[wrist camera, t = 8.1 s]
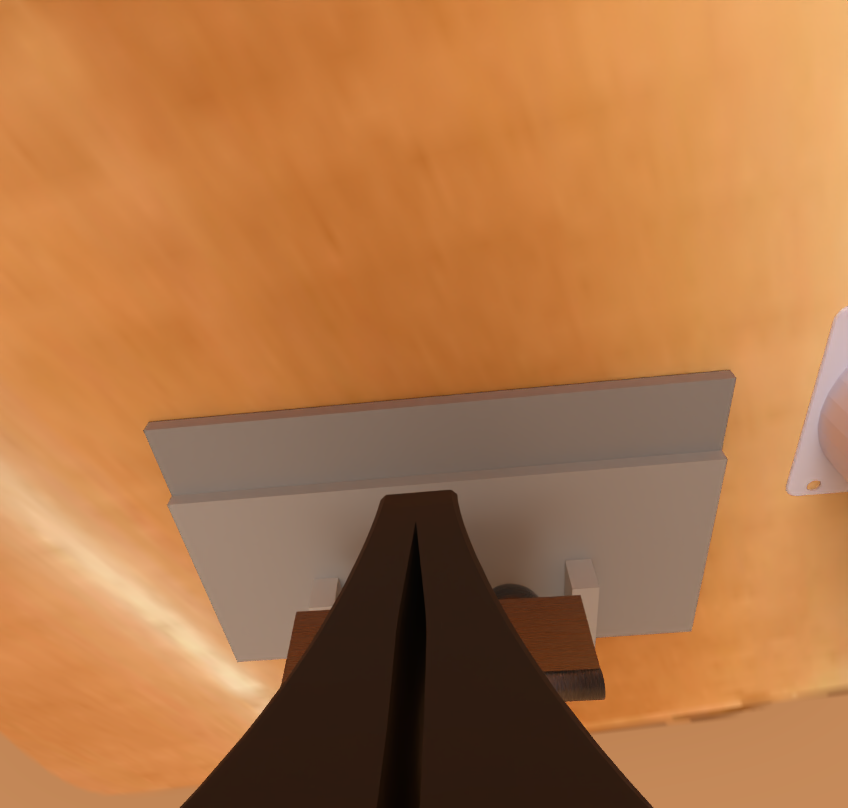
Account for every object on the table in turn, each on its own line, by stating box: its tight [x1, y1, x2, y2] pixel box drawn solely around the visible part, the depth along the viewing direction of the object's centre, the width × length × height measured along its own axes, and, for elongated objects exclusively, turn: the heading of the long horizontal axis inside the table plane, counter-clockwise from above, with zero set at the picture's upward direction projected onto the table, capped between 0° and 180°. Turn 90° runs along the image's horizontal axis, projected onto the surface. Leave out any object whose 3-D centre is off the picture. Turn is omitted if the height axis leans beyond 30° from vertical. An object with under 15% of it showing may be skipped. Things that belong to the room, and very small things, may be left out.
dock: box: [143, 370, 736, 662], centre depth 23 cm, size 20×12×3 cm, turn 96°
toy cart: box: [281, 583, 605, 702], centre depth 21 cm, size 9×9×5 cm
